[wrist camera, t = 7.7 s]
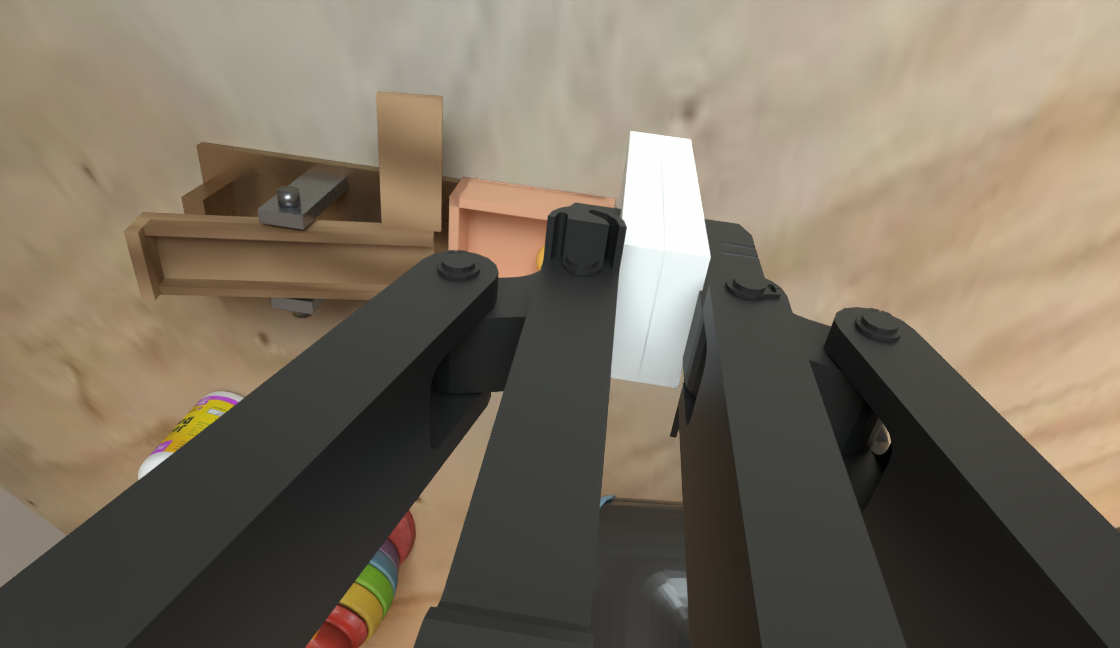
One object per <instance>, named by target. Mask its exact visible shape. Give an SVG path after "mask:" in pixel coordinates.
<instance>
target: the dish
mask: <svg viewBox="0 0 1120 648" xmlns="http://www.w3.org/2000/svg"><path fill="white" fill-rule="evenodd" d="M575 202H576V203H583V204H590V205H597V206H604V207H611V208H614V204H615V199H613V198H606V197H599V196H592V195H585V194H578V193H571V192H564V191H557V190H550V189H543V188H536V187H530V186H523V185H516V184H509V183H502V182H495V181H488V180H481V179H474V178H467V177H463V178H462V179H461V181H460V182H459V184H458V185H457V186H456V188H455V189H454V191H453V192H452V194H451V195H450V196H449V250H455V251H457V250H465V251H467V252H471V253H477V254H479V255H482V256H484V257H487V258H489V259H490V260H491V261H492V262H494V263H495V264H496V265H497V269H498V272H499V274H498V278H504V277H521V276H526V275H530V274H533V273H536V272H538V269H537V266H536V257H537V254H538V252H539V250H540V249H541V247H542V246H543V245H545V238H546V228H547V218H548V215H549V214H550V213H551V212H552V211H553V210H555V209H558V208H561V207H567V206H571V205H572V204H574V203H575Z"/></svg>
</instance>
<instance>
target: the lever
mask: <svg viewBox="0 0 1120 648" xmlns="http://www.w3.org/2000/svg"><path fill="white" fill-rule="evenodd" d="M376 99H377V123H378V147H379V171H380V195H381V219H382V223H372V222H349V221H327V220H314V221H312V222H311V223H310V224H309V225H308V226H307V227H306V228H305V229H304V230H303V229H296V228H290V227H283V226H276V225H269V224H263V223H260V222H259V217H238V216H215V215H193V214H171V213H149V212H143V213H142V214H141V215H140V216H139V217H138V218H137V219H136V220H135V221H134V222H133V223H132V224H131V225H130V226H129V227H128V228H127V229H126V230H125V231H124V234H125V238H126V241H127V245H128V249H129V253H130V256H131V260H132V264H133V268H134V271H135V275H136V279H137V282H138V286H139V290H140V294H141V297H142V300H154V301H155V300H156V299H157V298H158V296H159V295H160V294H162V295H199V296H236V297H273V298H310V299H346V300H371V299H372V298H373V297H375V296H376V295H377V294H378V293H380V292H381V291H382V290H384V289H385V288H386V287H387V286H389V285H390V284H391V283H393V282H394V281H395V280H396V279H398V278H399V277H400V276H402V275H403V274H404V273H405V272H407V271H408V270H409V269H411V268H412V267H413V266H414V265H416V264H417V263H418V262H420V261H421V260H422V259H424V258H426V257H428V256H430V255H432V254H434V231H436V232H441V219H442V122H443V96H434V95H421V94H408V93H394V92H381V91H378V93H377V95H376Z"/></svg>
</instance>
